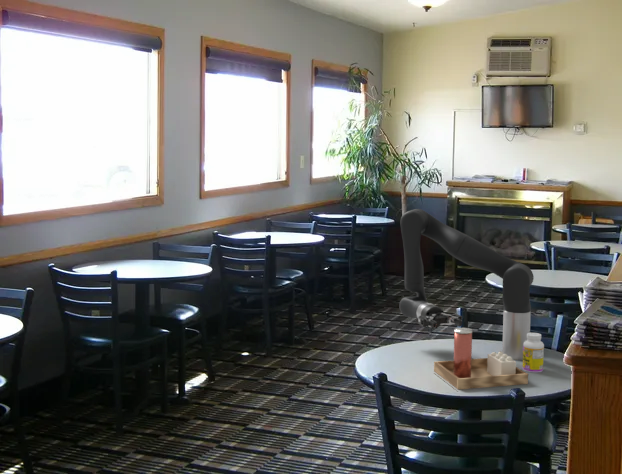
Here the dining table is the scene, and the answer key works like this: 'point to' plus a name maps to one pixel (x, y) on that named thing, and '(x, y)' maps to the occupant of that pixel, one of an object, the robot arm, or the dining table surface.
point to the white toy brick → (500, 364)
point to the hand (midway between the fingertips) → (448, 324)
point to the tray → (478, 375)
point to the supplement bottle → (533, 353)
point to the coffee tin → (462, 352)
